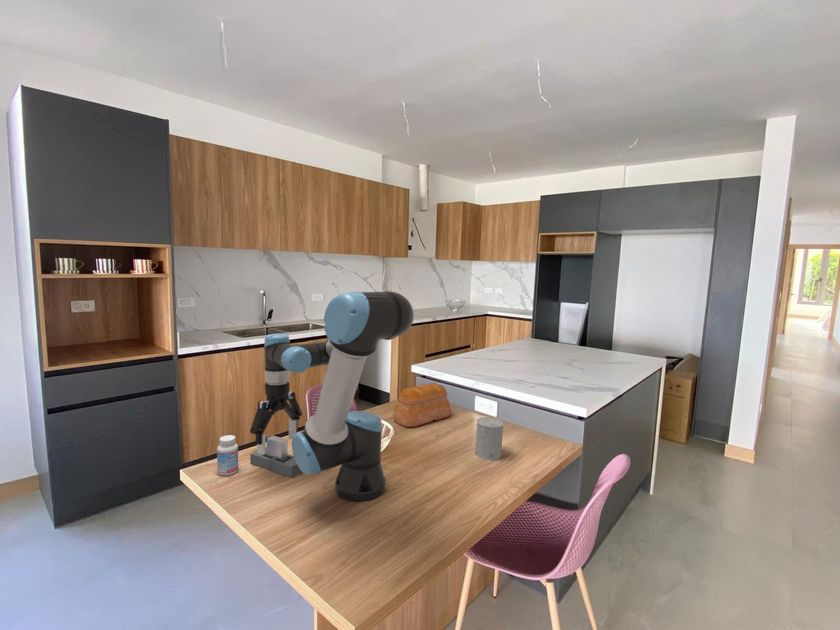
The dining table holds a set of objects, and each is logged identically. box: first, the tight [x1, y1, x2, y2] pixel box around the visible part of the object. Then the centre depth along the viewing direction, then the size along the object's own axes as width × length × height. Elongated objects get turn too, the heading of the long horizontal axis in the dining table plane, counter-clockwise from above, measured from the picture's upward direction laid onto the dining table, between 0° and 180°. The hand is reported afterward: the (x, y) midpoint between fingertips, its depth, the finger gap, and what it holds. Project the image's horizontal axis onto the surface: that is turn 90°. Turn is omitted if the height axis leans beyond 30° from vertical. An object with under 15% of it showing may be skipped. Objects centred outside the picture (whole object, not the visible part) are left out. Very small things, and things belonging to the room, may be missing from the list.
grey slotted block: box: [249, 446, 303, 478], centre depth 139 cm, size 18×6×4 cm, turn 63°
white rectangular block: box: [266, 435, 289, 463], centre depth 139 cm, size 7×3×9 cm, turn 63°
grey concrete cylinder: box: [474, 416, 504, 461], centre depth 154 cm, size 10×10×12 cm
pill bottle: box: [216, 434, 239, 476], centre depth 134 cm, size 6×6×11 cm
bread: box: [392, 382, 452, 428], centre depth 187 cm, size 14×26×15 cm, turn 131°
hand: (277, 445), depth 138 cm, fingers open, 13 cm apart
